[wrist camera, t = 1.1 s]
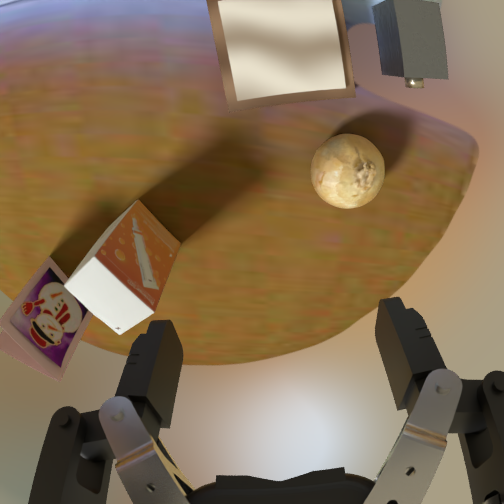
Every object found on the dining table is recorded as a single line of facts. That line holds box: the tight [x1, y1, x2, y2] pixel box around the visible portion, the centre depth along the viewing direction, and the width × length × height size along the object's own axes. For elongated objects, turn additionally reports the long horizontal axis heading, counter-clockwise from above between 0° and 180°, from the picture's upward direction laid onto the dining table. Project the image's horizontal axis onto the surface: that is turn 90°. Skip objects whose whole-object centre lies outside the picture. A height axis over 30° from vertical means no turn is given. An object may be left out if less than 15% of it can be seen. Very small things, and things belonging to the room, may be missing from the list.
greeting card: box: [0, 256, 93, 382], centre depth 39 cm, size 11×7×15 cm, turn 29°
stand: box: [206, 0, 356, 113], centre depth 26 cm, size 12×12×4 cm
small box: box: [64, 200, 181, 335], centre depth 34 cm, size 8×6×13 cm
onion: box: [311, 134, 385, 208], centre depth 31 cm, size 8×8×7 cm
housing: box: [372, 0, 448, 88], centre depth 24 cm, size 9×5×6 cm, turn 10°
